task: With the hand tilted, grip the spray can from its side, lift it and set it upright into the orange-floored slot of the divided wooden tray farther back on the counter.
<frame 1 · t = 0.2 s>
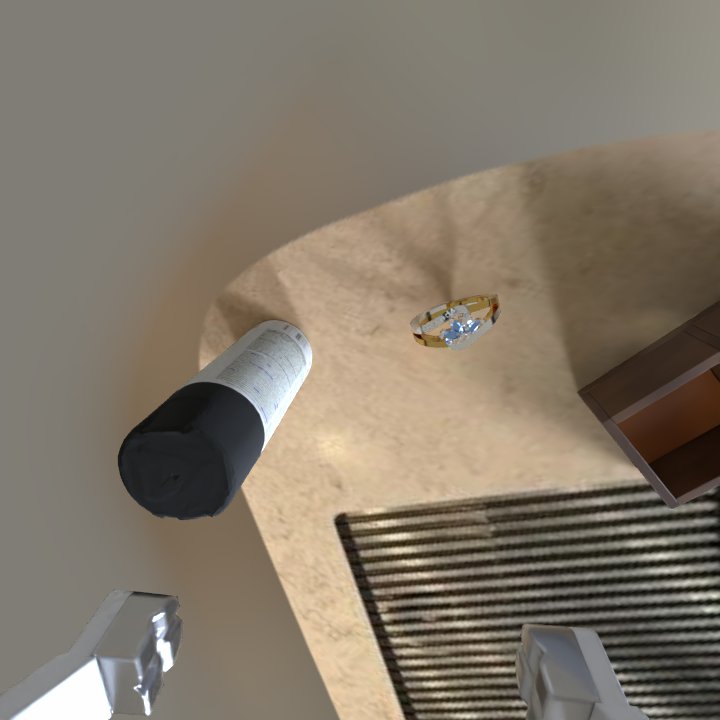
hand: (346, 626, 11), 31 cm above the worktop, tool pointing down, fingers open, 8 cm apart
divided wooden tray: (713, 369, 38), on the worktop
spray can: (280, 351, 43), on the worktop
ring: (450, 304, 39), on the worktop
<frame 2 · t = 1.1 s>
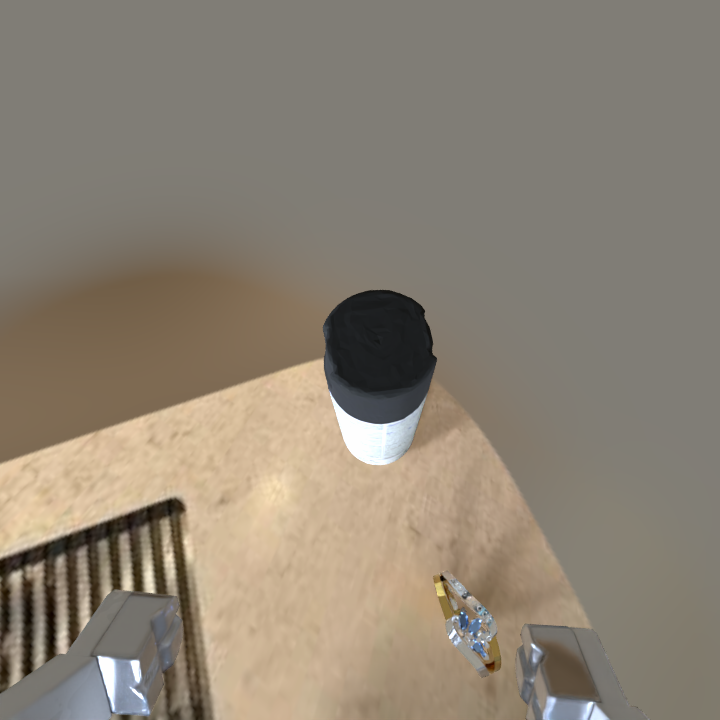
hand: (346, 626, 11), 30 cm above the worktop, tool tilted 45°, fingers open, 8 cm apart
spray can: (378, 432, 43), on the worktop
ring: (454, 614, 37), on the worktop
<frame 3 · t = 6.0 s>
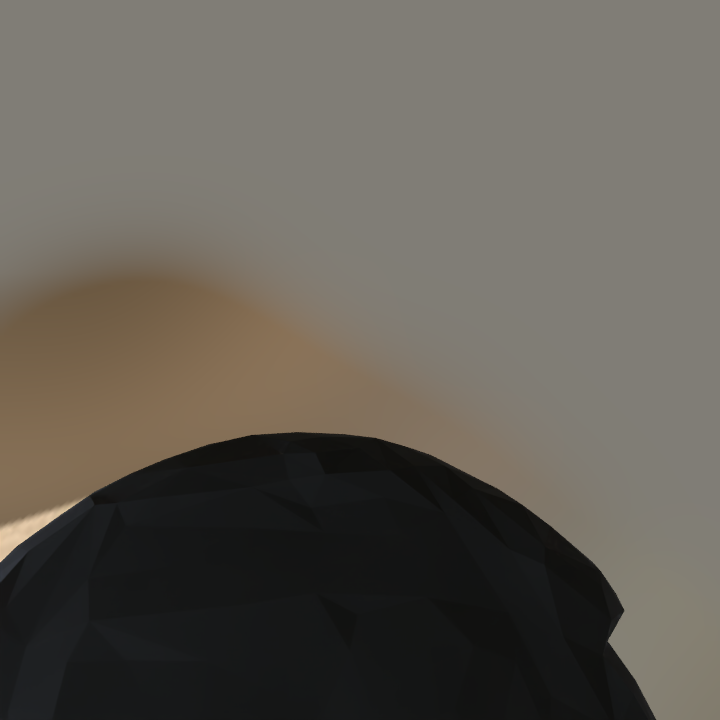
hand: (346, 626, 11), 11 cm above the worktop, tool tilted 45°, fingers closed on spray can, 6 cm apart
spray can: (361, 606, 21), on the worktop, touching gripper
when the fingers open (12 cm above the worktop, at t = 17.4 s): spray can stays where it is, resting on divided wooden tray.
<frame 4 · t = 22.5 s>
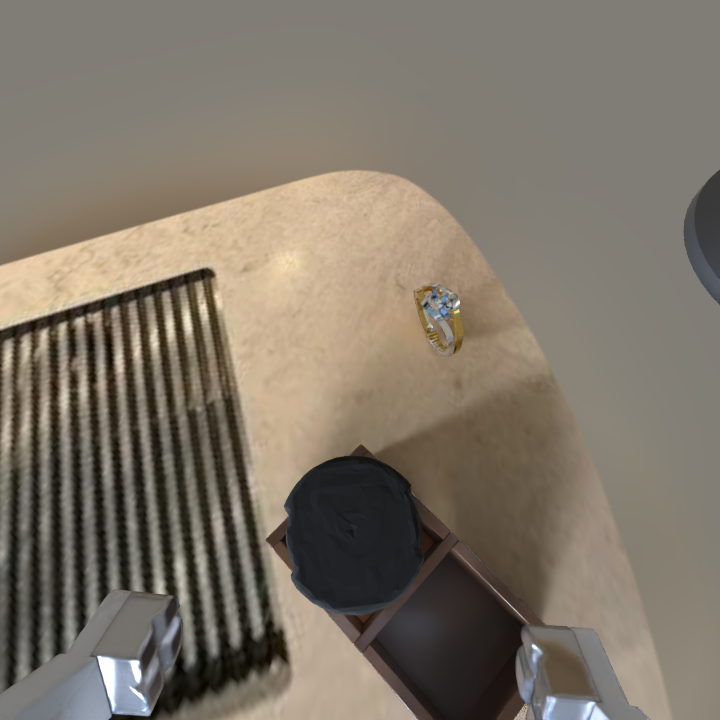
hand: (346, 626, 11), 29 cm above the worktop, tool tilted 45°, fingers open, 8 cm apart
divided wooden tray: (403, 585, 37), on the worktop
spray can: (364, 542, 38), point 1 cm above the worktop, touching divided wooden tray
ring: (431, 340, 46), on the worktop
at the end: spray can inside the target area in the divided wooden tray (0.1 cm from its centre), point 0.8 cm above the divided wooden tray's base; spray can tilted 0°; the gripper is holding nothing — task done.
